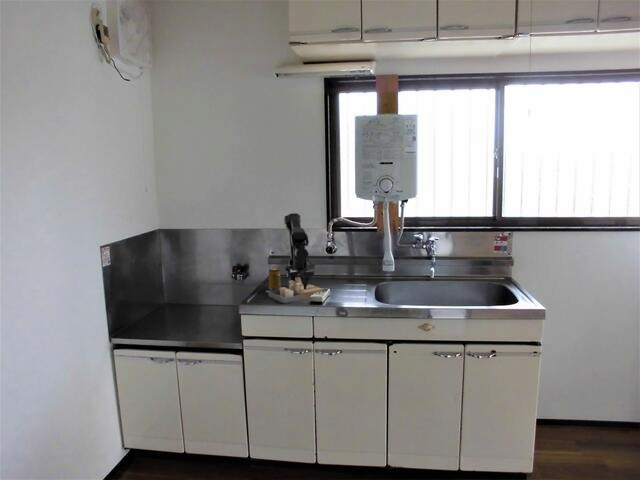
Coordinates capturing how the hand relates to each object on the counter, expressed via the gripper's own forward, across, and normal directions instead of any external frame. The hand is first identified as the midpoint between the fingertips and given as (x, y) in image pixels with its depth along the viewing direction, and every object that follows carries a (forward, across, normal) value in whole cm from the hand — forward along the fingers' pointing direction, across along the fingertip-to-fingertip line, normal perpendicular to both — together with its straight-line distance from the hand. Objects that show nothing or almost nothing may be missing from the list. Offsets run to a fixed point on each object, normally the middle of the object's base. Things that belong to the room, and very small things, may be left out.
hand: (300, 287), depth 227 cm
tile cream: (+2, -3, +7) cm, 7 cm away
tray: (+4, 0, +9) cm, 10 cm away
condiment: (+4, +14, +6) cm, 16 cm away
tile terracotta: (+2, +3, +6) cm, 7 cm away
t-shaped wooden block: (+1, 0, 0) cm, 1 cm away
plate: (+4, 0, -3) cm, 5 cm away
